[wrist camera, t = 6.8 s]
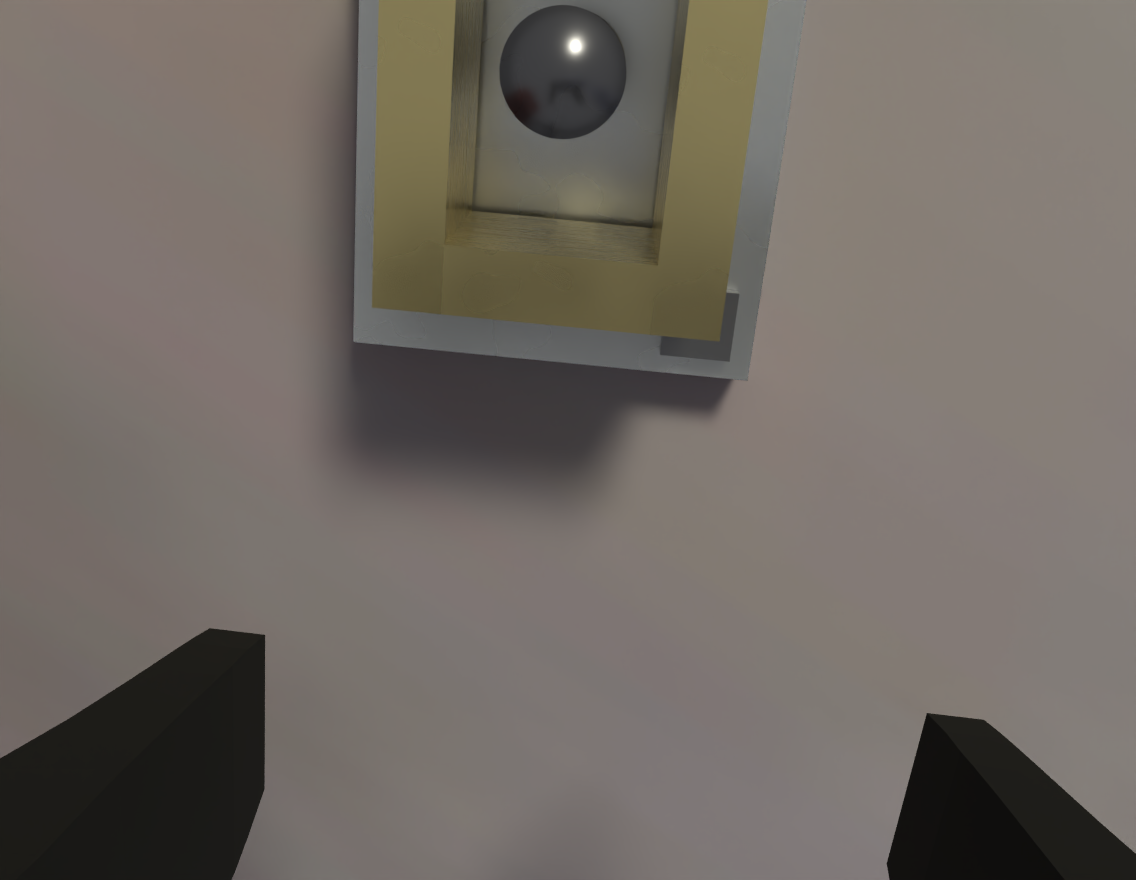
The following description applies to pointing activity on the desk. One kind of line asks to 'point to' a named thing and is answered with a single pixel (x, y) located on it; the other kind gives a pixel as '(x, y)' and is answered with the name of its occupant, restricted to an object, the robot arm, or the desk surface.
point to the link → (545, 245)
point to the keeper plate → (584, 167)
